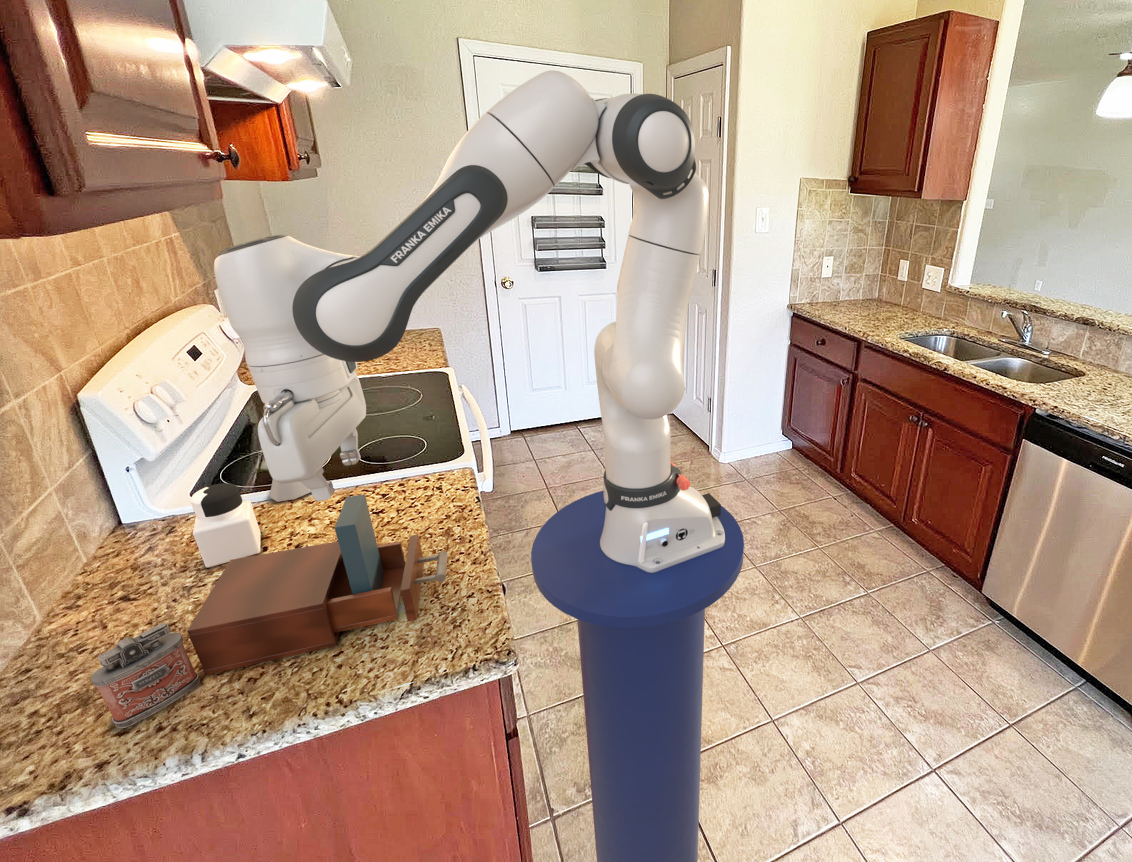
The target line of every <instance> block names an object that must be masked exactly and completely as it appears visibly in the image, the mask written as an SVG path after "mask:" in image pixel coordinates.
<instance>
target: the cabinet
mask: <svg viewBox="0 0 1132 862" xmlns="http://www.w3.org/2000/svg"><path fill="white" fill-rule="evenodd" d="M341 557H342V554H341V550H340V546H339V542H338V541H331V542H327V543H326V542H325V543H320V544H315V545H309V546H303V547H298V548H297V547H296V548H291V549H285V550H280V551H274V552H267V553H263V554H255V555H251V556H248V557H244V558H238V559H232V560H230V562H227V565H226V567H225V568H224V569H223V571H222V573H221V575H220V576H219V578H218V580H217V581H216V583H215V585H214V586H213V587H212V589H211V591H210V592H209V594H208V595H207V598H206V599H205V601H204V603H203V604H202V606H201V607H200V608H199V610H198V611H197V614H196V615H195V617H194V619H193V620H192V622H191V624H190V625H189V626H188V628H187V630H186V632H187V635H188V637H189V639H190V642H191V644H192V647H193V649H194V651H195V654H196V656H197V658H198V661H199V663H200V666H201V668H202V670H203V672H204V674H205V676H208V675H213V674H218V673H222V672H226V671H231V670H234V669H238V668H244V667H247V666H253V665H257V664H261V663H265V662H271V661H275V660H278V659H279V660H280V659H284V658H288V657H293V656H298V655H301V654H306V653H310V652H314V651H318V650H324V649H328V648H333V647H336V646H337V642H338V639H339V635H340V632H336V633H334V630H333V627H332V624H331V620H330V617H329V614H328V610H327V607H326V601H327V598H328V595H329V593H330V590H331V587H332V584H333V581H334V578H335V575H336V572H337V569H338V566H339V563H340V560H341Z"/></svg>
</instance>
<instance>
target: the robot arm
mask: <svg viewBox="0 0 1132 862" xmlns="http://www.w3.org/2000/svg"><path fill="white" fill-rule="evenodd" d="M695 137H696V136H695V133H694V129H693V125H692V122H691V120H690V118H689V115H688V114H687V113H686V111H685V110H684V109H683V108H682V107H681V106H680V105H679V104H677V103H676V102H675V101H673V100H672V99H669V98H667V97H665V96H664V95H663V96H662V95H660V94H657V93H622V94H619V95H616V96H612V97H605V98H604V97H603V98H599V99H594V98H593V97H591V96H590V94H589V92H588V91H587V90H586V88H584V86H583V85H582V84H581V83H580V82H578V80H576V79H575V78H574V77H572V76H570V75H569V74H567V73H565V72H563V71H559V70H545V71H543V72H540V73H539V74H537V75H535V76H534V77H531V78H530V79H528V80H527V81H525V82H524V83H522V84H520V85H519V86H517V87H516V88H514V89H513V90H511V91H510V92H508V93H507V94H506V95H505V96H503V97H502V98H500V100H498V101H497V102H496V103H494V104H493V106H491V107H490V108H489V109H488V110H486V111H485V112H484V113H483V114H482V115H481V116H480V117H479V118H477V120H476V121H475V123H473V124H472V126H470V128H469V129H468V130H467V131H466V133H465V134H464V135H463V136H462V137H461V138H460V140H459V141H458V143H456V146H455V147H454V149H453V150H452V151H451V152H450V155H449V156H448V158H447V160H446V162H445V164H444V166H443V169H442V171H441V173H440V174H439V177H438V179H437V181H436V183H435V184H434V186H433V188H432V189H431V191H430V192H429V193H428V194H427V196H426V197H425V198H424V199H423V201H421V203H420V204H419V205H418V206H417V207H416V208H415V209H413V210H412V212H410V213H409V214H408V215H407V216H406V217H405V218H404V219H403V220H402V221H400V223H398V225H396V226H395V227H394V228H393V229H392V230H391V231H390V232H389V233H388V234H387V235H386V236H385V237H383V238H382V239H381V240H380V241H379V242H378V243H377V244H376V245H375V246H373V247H372V248H370V249H369V250H368V251H366V252H365V253H363V254H362V255H360V256H358V255H352V254H345V253H340V252H335V251H331V250H326V249H323V248H320V247H316V246H313V245H310V244H307V243H304V242H302V241H301V240H298V239H296V238H294V237H292V236H290V235H288V234H287V235H286V234H274V235H272V234H271V235H268V236H265V237H261V238H257V239H253V240H250V241H246V242H243V243H239V244H235V245H232V246H229V247H226V248H224V249H223V250H222V251H221V252H220V253H218V254H217V256H216V258H215V259H214V262H213V271H214V279H215V282H216V286H217V289H218V294H219V296H220V300H221V302H222V305H223V308H224V311H225V314H226V316H227V319H228V322H229V324H230V326H231V328H232V330H233V331H234V332H235V333H236V335H237V336H238V337H239V339H240V340H241V342H242V344H243V347H244V354H245V355H244V356H245V357H244V358H245V364H246V365H247V368H248V371H249V373H250V375H251V378H252V381H253V383H254V385H255V388H256V390H257V392H258V395H259V397H260V399H261V402H262V403H263V404H264V405H263V407H262V409H263V414H262V417H261V418H260V420H259V422H258V425H257V436H258V440H259V444H260V448H261V451H262V454H263V458H264V461H265V464H266V467H267V470H268V472H269V475H270V478H272V480H273V479H274V480H275V481H277V482H278V483H280V484H285V483H292V482H298V481H300V482H301V483H302V484H304V485H305V486H306V487H307V488H308V489H310V490H311V492H310V493H311V496H312V498H313V500H314V501H316V502H324V501H328V500H330V499H331V498H332V496H333V495H334V494H335V491H336V489H335V488H334V484H333V482H332V480H327V479H326V478H325V477H324V475H323V474H324V472H325V471H324V468H323V466H324V465H325V464H326V462H327V461H328V460H329V459H330V458H331V457H332V456H333V454H334V453H335V452H336V451H337V450H338V449H339V448H340V453H339V457H340V460H341V463H342V464H343V466H346V467H349V466H351V465H352V466H353V465H357V463H358V462H359V461H360V460H361V454H360V453H361V452H360V450H359V438H358V437H359V436H358V430H357V427H358V426H359V425H360V424H361V423H362V422H363V420H365V418H366V417H367V404H366V399H365V396H364V391H363V389H362V384H361V381H360V379H359V376H358V374H357V373H356V371H357V370H358V367H359V366H358V365H359V364H358V363H363V362H369V361H373V360H377V359H379V358H382V357H384V356H386V355H387V354H389V353H390V352H391V351H393V350H394V349H395V348H396V346H397V345H399V343H400V342H401V340H402V338H403V337H404V334H405V332H406V330H407V327H408V323H409V320H410V317H411V314H412V312H413V308H414V306H415V305H416V303H417V301H419V299H420V297H421V296H422V295H423V294H424V293H425V292H426V291H427V290H428V289H429V288H430V287H431V286H432V284H434V283H435V282H436V281H437V280H438V279H439V278H440V277H441V276H442V275H443V274H444V273H445V272H446V271H447V270H448V269H449V268H450V267H451V266H452V265H453V264H454V263H455V262H456V261H457V260H458V259H459V258H460V257H461V256H462V255H463V254H464V253H465V252H466V251H467V250H469V248H470V247H471V246H472V245H473V244H475V243H476V242H478V241H479V240H480V239H482V238H483V237H484V236H486V235H488V234H490V233H491V232H493V231H495V230H496V229H498V228H500V227H501V226H503V225H505V224H507V223H508V222H510V221H512V220H514V219H515V218H517V217H518V216H521V215H523V213H525V212H526V211H528V210H529V209H531V208H532V207H533V206H535V205H536V204H537V203H539V202H540V201H541V200H542V199H543V198H545V197H546V196H547V195H548V194H549V193H551V192H552V190H553V189H555V187H557V185H559V183H561V182H562V181H563V179H565V178H566V176H567V175H568V174H569V173H570V172H571V171H574V170H575V169H576V168H578V167H580V166H581V165H585V166H587V167H588V168H589V169H591V170H592V171H593V172H594V173H596V174H598V175H600V176H601V177H604V178H607V179H611V180H614V181H616V182H619V183H622V184H625V185H629V188H630V189H631V192H632V197H633V215H632V217H631V218H632V219H631V222H630V226H629V230H628V235H627V238H626V239H627V240H626V243H625V249H624V252H623V258H622V262H621V266H620V271H619V275H618V280H617V286H616V295H617V296H616V298H617V299H616V301H617V302H616V316H615V321H613V322H610V323H608V324H606V325H605V326H604V327H603V328H601V330H600V331H599V333H598V334H597V336H596V338H595V342H594V348H593V353H594V367H595V376H596V386H597V394H598V403H599V409H600V416H601V423H602V429H603V430H602V431H603V444H604V446H603V447H604V461H605V462H604V464H605V465H604V466H605V469H604V471H603V482H602V489H603V490H602V491H603V493H604V502H605V504H606V514H605V522H604V528H603V532H602V535H601V538H600V547H601V549H602V551H603V552H604V554H605V555H606V556H608V557H609V558H610V559H612V560H614V561H616V562H619V563H622V564H627V565H632V566H636V567H638V568H640V569H642V570H644V571H646V572H649V573H654V572H657V571H660V570H662V569H665V568H668V567H670V566H673V565H676V564H679V563H681V562H684V561H687V560H689V559H692V558H695V557H697V556H700V555H703V554H705V553H708V552H711V551H713V550H716V549H719V548H721V547H723V546H724V543H725V533H724V529H723V526H722V524H721V522H720V521H719V519H718V518H717V516H720V515H721V506H722V504H721V503H720V502H719V501H718V500H717V499H716V498H715V497H714V496H713V495H712V494H711V493H709V492H708V493H705V494H702V493H700V491H698V490H697V489H696V488H694V487H692V486H691V481H690V480H689V479H688V477H687V476H686V475H682V471H681V470H680V468H679V467H677V466H676V465H675V463H674V462H672V461H671V457H672V455H671V451H672V447H671V446H672V445H671V444H672V442H671V441H672V440H671V438H672V437H671V425H670V422H669V417H668V415H669V414H671V413H672V412H673V411H675V409H677V408H678V406H679V405H680V403H681V401H682V399H683V397H684V394H685V387H686V386H685V376H684V356H685V354H684V353H685V343H686V332H687V318H688V309H689V302H690V298H691V294H692V289H693V286H694V281H695V277H696V273H697V270H698V265H699V262H700V261H699V260H700V257H701V254H702V250H703V246H704V240H705V235H706V230H707V223H708V214H709V199H710V194H709V188H708V185H707V184H706V182H705V180H703V178H702V177H701V176H700V175H699V174H697V173H696V172H697V162H696V158H695V157H696V156H695V155H696V138H695Z"/></svg>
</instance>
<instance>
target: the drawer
mask: <svg viewBox="0 0 1132 862" xmlns="http://www.w3.org/2000/svg"><path fill="white" fill-rule="evenodd" d="M421 545H422V544H421V540H420V536H419V534H413V535H410V536H409V541H408V546H407V550H406V558H405V554H404V550H403V545H402V541H401V540H400V541H393V542H388V543H383V544H377V546H378V551H379V555H380V559H381V563H382V567H383V571H384V579H383V584H382V588H381V589H379V590H374V591H369V592H364V593H359V594H354V595H353V594H352V590H351V587H350V583H349V579H348V576H347V572H346V568H345V565H344V561H343V557H341V560H340V563H339V566H338V569H337V572H336V575H335V578H334V581H333V584H332V587H331V590H330V593H329V595H328V598H327V601H326V607H327V610H328V614H329V617H330V620H331V624H332V627H333V630H334V633H336V632H339V633H340V632H344V631H349V630H354V629H358V628H363V627H368V626H372V625H376V624H380V623H385V622H390V621H395V620H398V618H399V613H400V607H401V602H402V605H403V608H404V613H405V617H406V620H407V623H409V622H413V621H417V620H418V618H417V617H418V611H419V607H420V606H419V604H420V598H421V590H422V583H428V582H434V581H436V582H437V583H438V582H439V583H442V582H445V581H446V579H447V567H448V557H449V555H448V552H447V551H446V550H441V551H439V552H438V554H434V555H429V556H424V555H423V549H422V546H421ZM433 561H436V570H435V574H431V575H427V576H424V569H425V563H428V562H433ZM401 600H402V601H401Z"/></svg>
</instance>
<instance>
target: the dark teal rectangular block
mask: <svg viewBox="0 0 1132 862" xmlns="http://www.w3.org/2000/svg"><path fill="white" fill-rule="evenodd" d="M339 512H340V513H339V515H338V518H337V520H336V523H335V526H334V531H335V535H336V538H337V539H336V540H337V542H339V546H340V550H341V554H342V557H343V561H344V565H345V568H346V572H347V576H348V579H349V583H350V587H351V590H352V594H353V595H354V594H359V593H364V592H369V591H374V590H379V589H381V588H382V584H383V579H384V571H383V567H382V563H381V559H380V555H379V551H378V546H377V545H378V543H377V537H376V534H375V530H374V525H373V522H372V518H371V514H370V510H369V504H368V501H367V497H366V494H364V493H363V494H357V495H350V496H346V497H345V500H344V502H343V504H342V507H341V510H340V511H339Z"/></svg>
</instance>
